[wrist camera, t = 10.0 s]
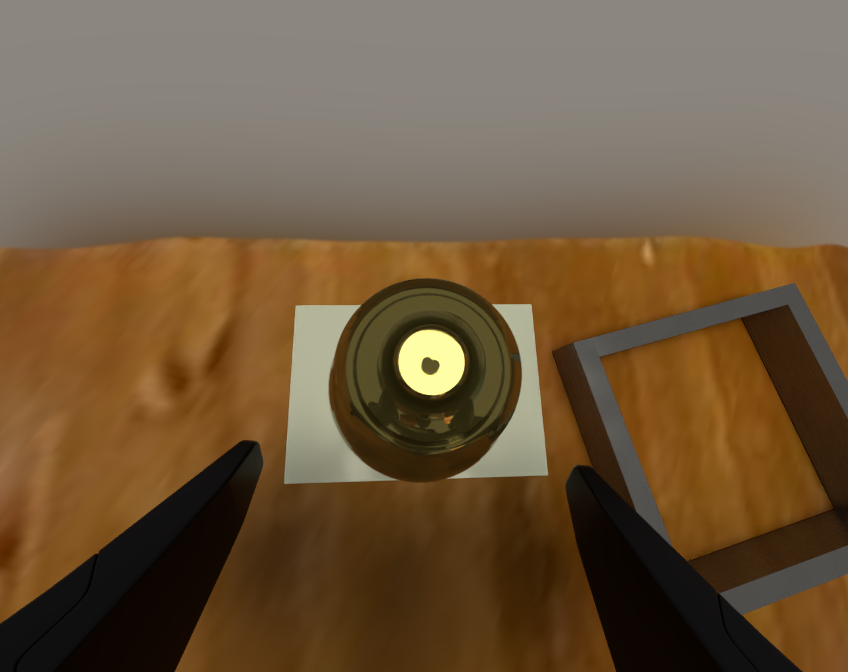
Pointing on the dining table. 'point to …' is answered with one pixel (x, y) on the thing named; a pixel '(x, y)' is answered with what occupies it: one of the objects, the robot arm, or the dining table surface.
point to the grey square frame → (808, 409)
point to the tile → (324, 447)
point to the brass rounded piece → (424, 380)
